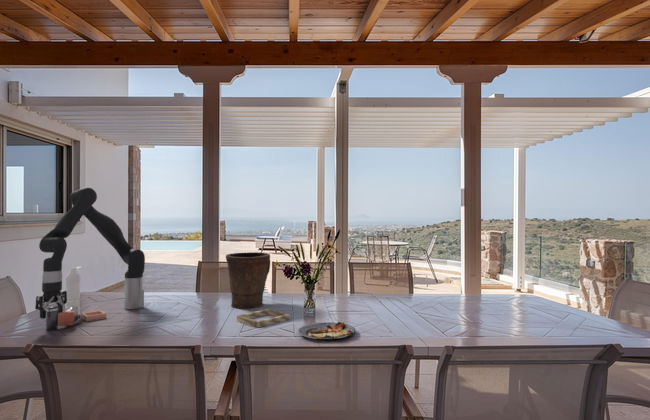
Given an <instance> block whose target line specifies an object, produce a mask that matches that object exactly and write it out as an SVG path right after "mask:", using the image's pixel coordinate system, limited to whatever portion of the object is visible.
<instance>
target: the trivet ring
mask: <svg viewBox="0 0 650 420" xmlns="http://www.w3.org/2000/svg"><path fill="white" fill-rule="evenodd" d="M267 315H268V316H272V317H270V318H265V319H261V320H256V318H259V317H263V316H267ZM254 318H255V319H254ZM289 320H290V314H289V313H287V312H283V311H279V310H274V309H272V308H271V309H268V308H265V309H262V310H257V311H251V312H248V313H243V314H238V315H236V321H237V322H238V323H240V324H243V325H247V326H250V327H253V328H262V327H266V326H270V325H274V324H277V323H281V322H286V321H289Z"/></svg>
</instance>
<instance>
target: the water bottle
mask: <svg viewBox="0 0 650 420" xmlns="http://www.w3.org/2000/svg"><path fill="white" fill-rule="evenodd" d="M77 269H78V270H79V269H80V270H81V269H83V267H82V266H79V265H78V266H76V267H70V269H69V272H68V273H67V274H66V276H65V290H64V291H67V303H66V304H64V307H65V308H64V312H65V311H66V308H68V307H78V317H79V316H81V310H80V309H81V296H80V295H81V276H80V275H81V274H79V273H78V271H77Z"/></svg>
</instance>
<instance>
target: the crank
mask: <svg viewBox="0 0 650 420" xmlns="http://www.w3.org/2000/svg"><path fill="white" fill-rule="evenodd" d="M78 319H79V316H78V307H68V308H66V311H65V310H64V311H62V312H59V313H58V327H65V326H66V327H67V326H74V325H75V324H74V321H76V320H78Z"/></svg>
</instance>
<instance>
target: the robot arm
mask: <svg viewBox="0 0 650 420" xmlns="http://www.w3.org/2000/svg"><path fill="white" fill-rule="evenodd" d="M69 200H70V203H71V205H72V207H71V208H70V209H69V210H68V211H67V212H66V213H65V214H63V216H61V218H60V219H59V220H58V221H57V223H56V225H55V226H54V227H53V229H51V230H50V231H49V232H47V233H46V234H45V235H44V236H43V237H42V238H41V240H40V241H39V245H38V247H39V250H40V251H41V252H42V253H47V254H48V253H51V254H52V256H51V257H48V258H44V259H43V263H42V264H43V266H42V267H43V268H42V271H43V272H42V276H41V279H42V281H41V282H42V283H41V284H42V285H41V292H42V295H36V297H35V307H34V309H35V310H37V311H38V310H39V318H40V319H41V320H44V319H46V309H47V307H50V304H53V303H55V304H56V306H58V313H59V312H64V309H63V308H64V307H63V306H65V304H66V303H67V291H65V290H63V259H64V256H65V254H66V251H67V248H68V244H67V243H68V242H67V240H66V239H67V238H68V237H69V236H70V235H71V233H72V232H73V230H74V229H75V227H76V225H77V224H78V223H79V222H80V220H81V219H82V217H83V216H84V217H85V218H86V219H87V220H88V221H89V223H90V224H92V225H93V226H94V227H95V229H96V230H97V231H98V233H99V234H100V235H101V236H102V237H103V238H104V239H105V240H106V241H107V243H109V245H110V246H112V247H113V249H114V250H115V251H116V253H117V254H118V255H119V257H120V258H121V259H122V261H123V262H124V264H126V265H127V271H126V272H125V273H124V300H123V301H124V305H123V306H124V309H125V310H136V309H141V308H143V307H144V306H145V291H144V289H143V287H144V286H143V285H144V284H143V283H144V282H143V281H144V279H143V277H144V271H145V267H146V266H145V263H146V259H145V258H146V257H145V253H144V252H143V250H141V249H139V248H137V249H136V248H133V247H132V245H130V244H129V242H128V241H127V240H126V239H125V236H124V234H123V231H122V229H121V227H120V226H119V225H118V224H117V222H116V221H114V219H113V218H111V217H110V216H108V215H106V214H104V213H102V212H100V211H98V210H97V209H96V208H95V207H94V206H93V204H95V203H96V202H97V200H98V194H97V192H96V191H95V190H94V189H93V188H91V187H82V188H80V189H78V190H74V191H73V192H71V193H70V194H69Z"/></svg>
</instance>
